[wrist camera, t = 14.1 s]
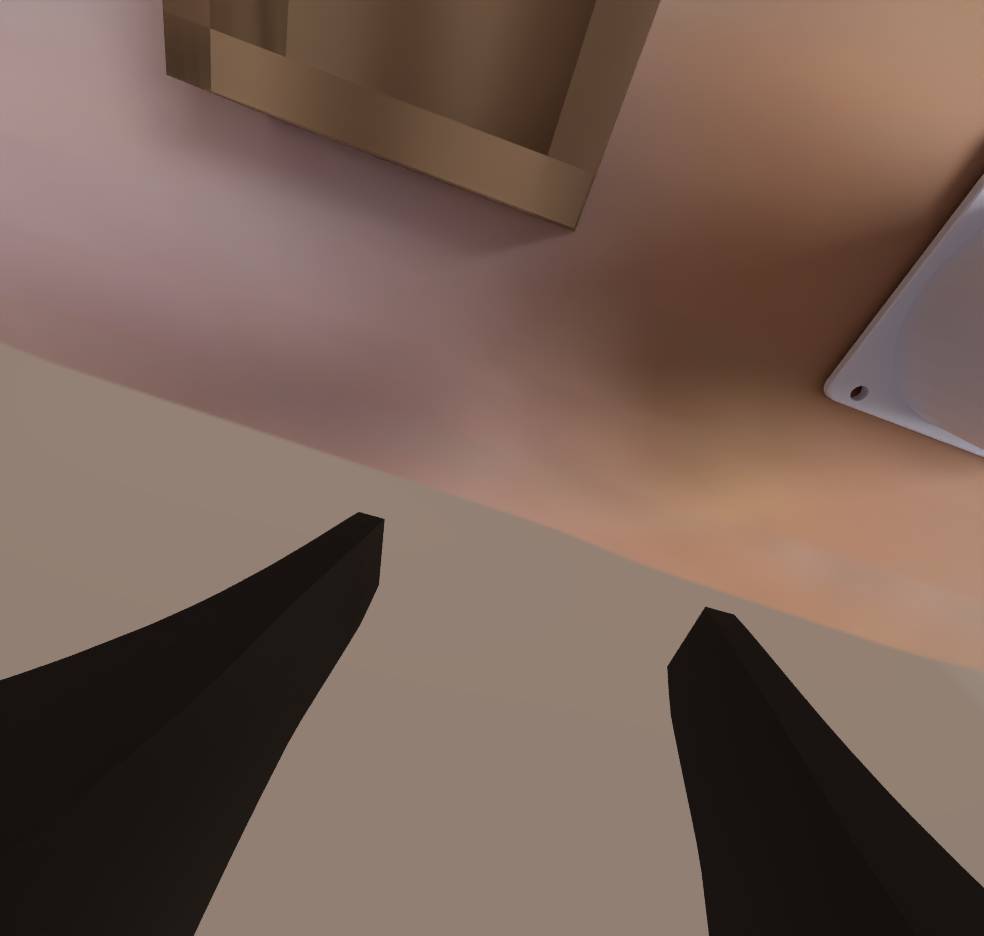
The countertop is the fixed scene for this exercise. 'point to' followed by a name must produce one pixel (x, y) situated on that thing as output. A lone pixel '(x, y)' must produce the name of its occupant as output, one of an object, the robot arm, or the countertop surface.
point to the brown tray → (431, 82)
